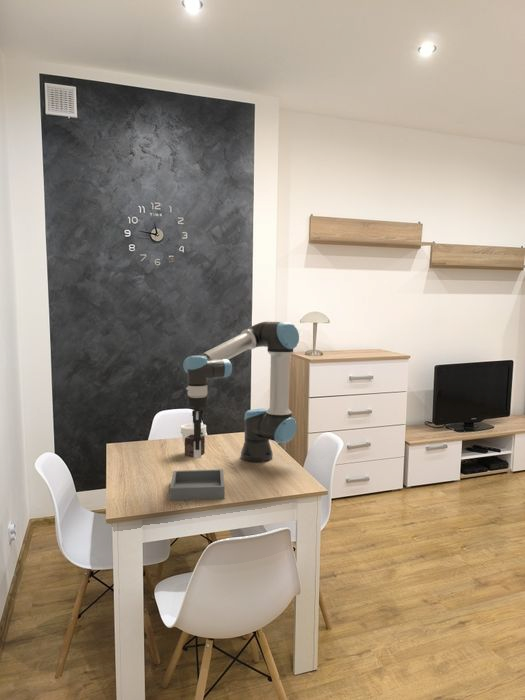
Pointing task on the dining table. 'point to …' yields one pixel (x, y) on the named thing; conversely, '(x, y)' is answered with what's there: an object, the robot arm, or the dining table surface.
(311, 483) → the dining table surface
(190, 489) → the bin
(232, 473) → the dining table surface
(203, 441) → the box
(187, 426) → the cup
